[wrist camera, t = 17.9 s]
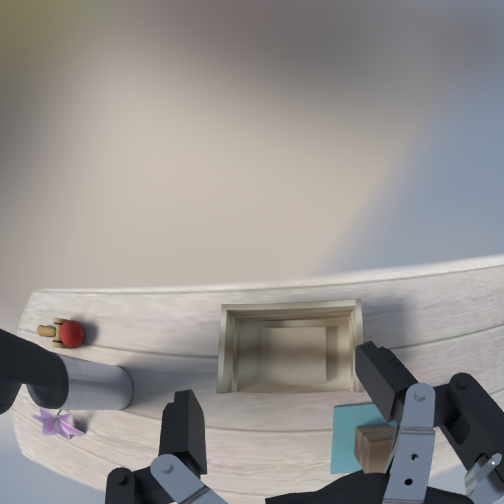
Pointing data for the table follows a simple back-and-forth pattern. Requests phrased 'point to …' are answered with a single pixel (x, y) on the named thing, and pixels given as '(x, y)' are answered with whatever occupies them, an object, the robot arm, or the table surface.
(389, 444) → the walnut block
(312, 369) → the crate
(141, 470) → the robot arm
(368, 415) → the mat
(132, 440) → the table surface
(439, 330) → the table surface
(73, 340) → the kendama
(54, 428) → the lily
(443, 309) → the table surface
